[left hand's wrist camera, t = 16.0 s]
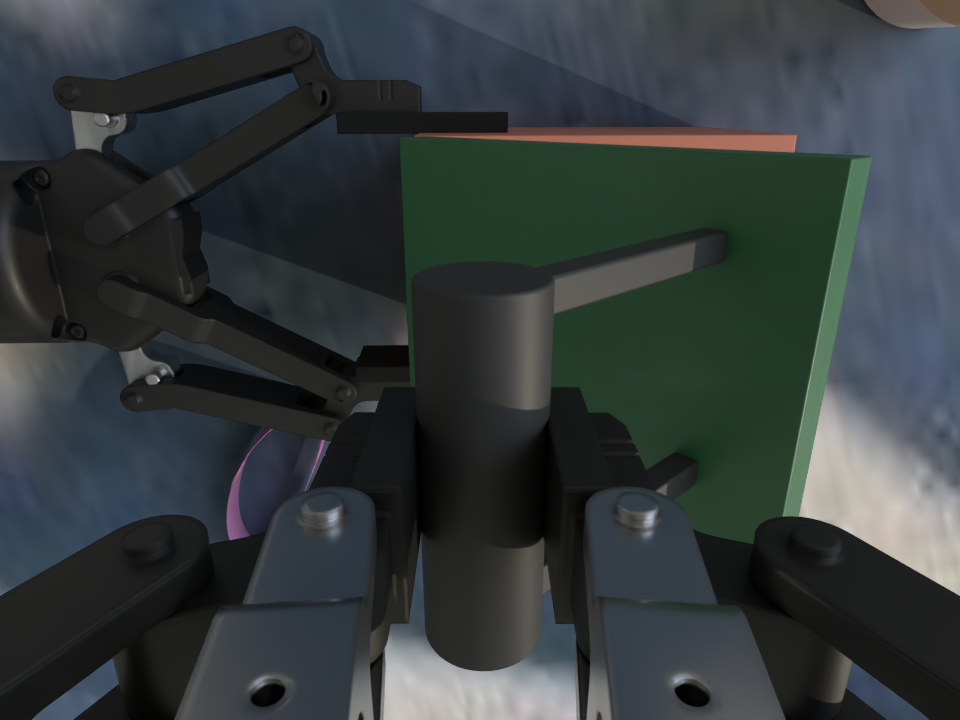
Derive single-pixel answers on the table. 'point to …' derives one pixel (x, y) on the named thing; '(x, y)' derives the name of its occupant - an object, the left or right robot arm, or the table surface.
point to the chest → (645, 137)
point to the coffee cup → (917, 12)
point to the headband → (233, 512)
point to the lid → (609, 343)
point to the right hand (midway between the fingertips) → (504, 249)
